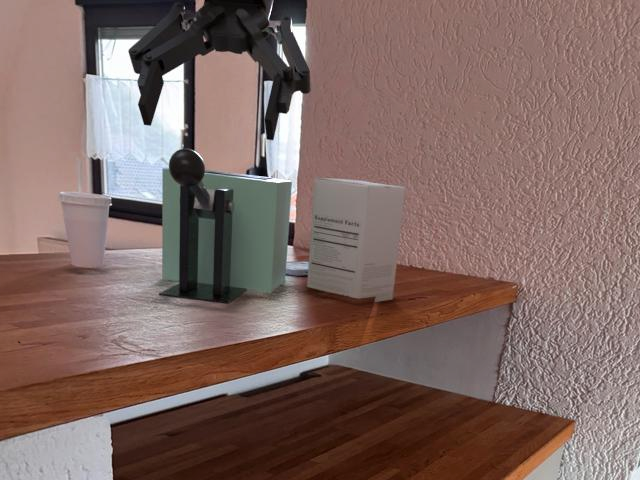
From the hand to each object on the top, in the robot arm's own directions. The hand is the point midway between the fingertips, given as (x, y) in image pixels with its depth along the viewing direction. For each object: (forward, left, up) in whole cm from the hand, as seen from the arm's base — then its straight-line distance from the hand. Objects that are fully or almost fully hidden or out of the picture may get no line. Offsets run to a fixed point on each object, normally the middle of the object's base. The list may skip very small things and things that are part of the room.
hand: (206, 122), depth 79 cm
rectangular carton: (+6, +22, -19) cm, 30 cm away
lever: (+2, -3, -8) cm, 9 cm away
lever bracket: (-1, +1, -19) cm, 19 cm away
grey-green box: (-6, +11, -19) cm, 23 cm away
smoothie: (-21, 0, -19) cm, 29 cm away
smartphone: (-11, +34, -19) cm, 41 cm away
